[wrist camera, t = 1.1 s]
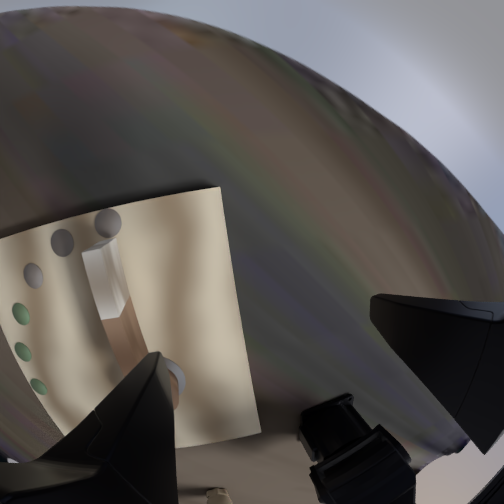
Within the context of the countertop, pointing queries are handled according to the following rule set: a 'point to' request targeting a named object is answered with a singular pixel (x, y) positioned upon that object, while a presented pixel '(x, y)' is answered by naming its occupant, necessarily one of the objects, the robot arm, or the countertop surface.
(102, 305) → the peg
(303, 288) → the countertop surface
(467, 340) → the robot arm
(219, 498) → the handle
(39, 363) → the board
